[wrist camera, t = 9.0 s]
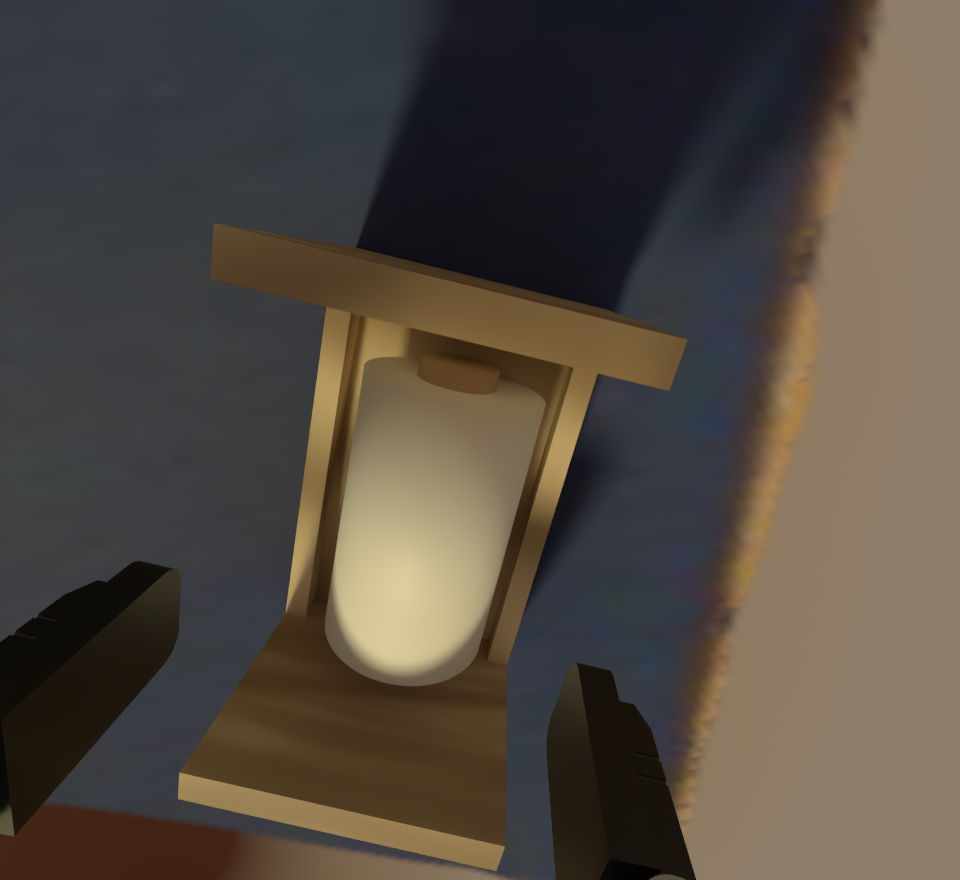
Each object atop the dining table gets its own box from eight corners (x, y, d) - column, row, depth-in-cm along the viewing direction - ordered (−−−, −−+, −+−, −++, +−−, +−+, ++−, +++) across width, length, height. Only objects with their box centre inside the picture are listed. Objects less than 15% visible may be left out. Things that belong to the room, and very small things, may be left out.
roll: (383, 330, 18) (347, 358, 12) (538, 365, 18) (566, 405, 13) (342, 580, 21) (301, 686, 16) (475, 603, 21) (478, 713, 16)
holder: (355, 247, 18) (213, 222, 9) (604, 308, 18) (688, 339, 10) (303, 600, 23) (178, 798, 14) (501, 647, 23) (496, 870, 14)
